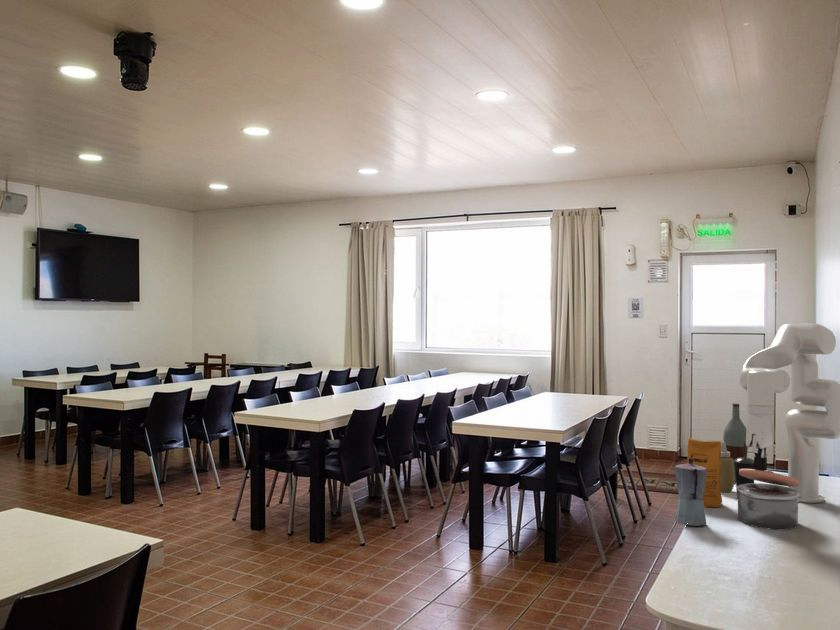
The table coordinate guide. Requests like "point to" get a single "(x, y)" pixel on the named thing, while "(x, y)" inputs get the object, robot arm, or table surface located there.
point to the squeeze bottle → (726, 470)
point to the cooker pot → (768, 505)
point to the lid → (769, 477)
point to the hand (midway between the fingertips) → (760, 469)
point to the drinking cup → (743, 464)
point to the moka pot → (690, 494)
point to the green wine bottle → (735, 435)
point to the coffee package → (708, 468)
